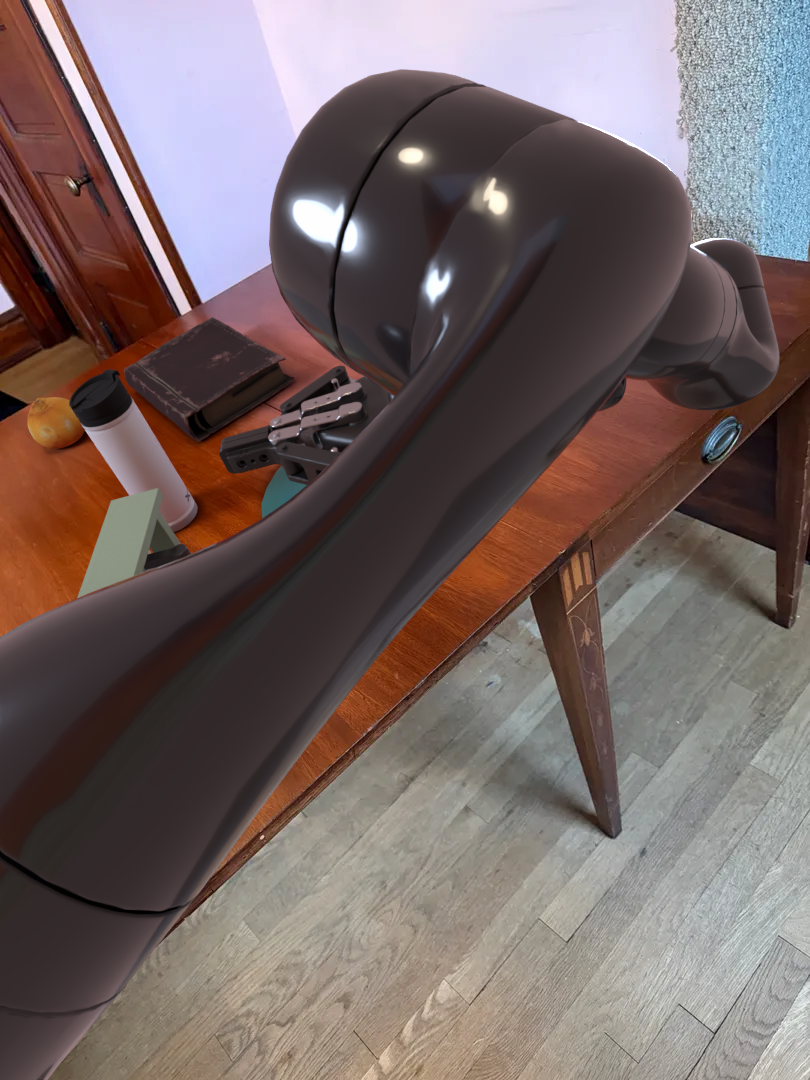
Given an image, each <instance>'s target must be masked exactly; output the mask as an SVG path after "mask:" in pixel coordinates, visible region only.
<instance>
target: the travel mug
mask: <svg viewBox="0 0 810 1080" xmlns="http://www.w3.org/2000/svg"><path fill="white" fill-rule="evenodd" d="M119 376H121V373H120V372H119V370H117V369H112V368H111V369H110V368H106V369H105V370H104V371H103V372H102V373H98V374H97V375H94V376H93V377H90V378H89V379H88V380H85V382H83V383H81V385H79V386H78V387H77V388H76V389H75V391H74V392H73V393H72V394H71V397H70V398H69V400H70V402H69V406H70V407H71V409H72V410H73V412H74V414H75V415H76V417H77V418H78V419H79V421H80V423H81V425H82V427H83V428H84V429H85V431H84V432H86V434H87V435H88V437H89V438H90V440H91V441H92V443H93V444H94V446H95V447H96V449H97V451H98V452H99V453H100V455H101V456H102V457H103V459H104V461H105V462H106V464H107V465H108V466H109V468H110V470H111V471H112V472H113V474H114V476H115V477H116V478H117V479H118V481H119V482H120V484H121V485H122V487H123V489H124V490H125V492H126V493H127V494H128V496H130V495H134V494H138V493H141V492H145V491H149V490H153V489H156V488H159V490H160V491H161V493H162V494H163V499H162V502H161V506H160V510H159V511H160V513H161V514H162V516H163V517H164V519H165V520H166V522H167V523H168V525H169V526H170V528H171V529H172V531H173V532H174V533H176V532H179V531H181V530H183V529H185V527H187V526H188V525H189V524H190V523H192V521H193V520H194V519H195V517H196V516H197V513H198V509H199V508H198V505H197V503H196V501H195V499H194V498H193V496H192V494H191V493H190V491H189V489H188V487H187V486H186V485H185V483H184V481H183V480H182V478H181V477H180V474H179V473H178V471H177V470H176V468H175V466H174V465H173V463H172V462H171V460H170V458H169V456H168V454H167V453H166V451H165V450H164V448H163V446H162V445H161V443H160V441H159V440H158V438H157V436H156V435H155V433H154V432H153V430H152V429H151V426H149V424H148V422H147V420H146V419H145V417H144V415H143V414H142V412H141V411H140V409H139V407H138V405H137V404H136V402H135V401H134V399H133V397H132V396H131V395H130V393H129V391H128V390H127V388H126V386H125V384H124V383H123V381H122V380H121V378H120V377H119Z"/></svg>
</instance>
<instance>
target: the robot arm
mask: <svg viewBox="0 0 810 1080" xmlns="http://www.w3.org/2000/svg"><path fill="white" fill-rule="evenodd" d="M692 214H693V213H692V205H691V201H690V198H689V196H688V194H687V192H686V189H685V188H684V185H683V184H682V181H681V179H680V178H679V177H678V175H677V174H676V173H675V172H674V171H673V170H672V169H671V168H670V167H669V165H667V164H665V163H664V162H662V161H661V160H659V159H658V158H656V157H655V156H654V155H651V154H650V153H649V152H647V151H646V150H645V149H642V148H641V147H639V146H637V145H635V144H633V143H632V142H630V141H628V140H626V139H624V138H622V137H619V136H617V135H615V134H612V133H610V132H608V131H605V130H603V129H601V128H598V127H596V126H593V125H591V124H588V123H585V122H580V121H579V120H576V119H574V118H573V117H570V116H569V115H565V114H563V113H559V112H557V111H554V110H551V109H549V108H546V107H544V106H541V105H538V104H536V103H533V102H530V101H528V100H525V99H522V98H520V97H517V96H514V95H512V94H509V93H507V92H504V91H501V90H498V89H495V88H492V87H490V86H487V85H484V84H482V83H478V82H476V81H473V80H471V79H467V78H465V77H461V76H458V75H455V74H451V73H446V72H442V71H441V72H439V71H433V70H419V69H418V70H417V69H404V68H403V69H400V68H399V69H395V70H390V71H383V72H379V73H375V74H370V75H368V76H366V77H365V76H364V78H361V79H359V80H357V81H355V82H353V83H351V84H349V85H346V86H344V87H343V88H342V89H341V90H340V91H338V92H337V93H336V94H335V95H333V96H332V97H331V98H330V99H328V100H327V101H326V102H325V103H323V104H322V105H321V106H320V107H319V108H318V110H317V111H316V112H315V113H314V114H313V116H312V117H311V118H310V119H309V120H308V122H307V123H305V125H304V127H303V128H302V129H301V130H300V132H299V133H298V136H297V138H295V141H294V142H293V144H292V147H290V150H289V152H288V153H287V155H286V157H285V160H284V163H283V165H282V169H281V171H280V173H279V176H278V179H277V182H276V184H275V188H274V192H273V197H272V202H271V207H270V215H269V235H268V237H269V238H268V248H269V254H270V262H271V268H272V273H273V277H274V279H275V282H276V284H277V287H278V291H279V292H280V296H281V298H282V299H283V301H284V303H285V304H286V306H287V307H288V309H289V311H290V313H291V314H292V316H293V317H294V319H295V320H296V322H297V323H298V324H299V325H300V327H302V328H303V329H304V331H306V332H307V333H308V334H309V336H310V337H312V338H313V339H314V340H315V341H316V342H317V343H318V344H319V346H321V347H322V348H323V349H324V350H325V351H327V352H328V353H329V355H331V356H332V357H333V358H335V359H337V360H338V361H339V362H341V363H342V364H344V365H337V366H334V367H333V368H331V369H329V370H328V371H327V372H325V373H324V374H322V375H321V376H320V377H318V378H316V379H315V380H314V381H312V382H311V383H309V384H308V385H307V386H305V387H304V388H302V389H301V390H299V391H298V392H297V393H295V394H294V395H292V396H291V397H289V398H288V399H286V400H284V401H283V402H282V403H281V404H280V405H279V410H280V412H281V414H280V415H277V416H275V417H273V418H272V419H271V420H270V421H269V425H264V426H261V427H258V428H254V429H250V430H247V431H243V432H240V433H236V434H233V435H230V436H225V437H223V438H222V439H221V441H220V448H219V452H218V454H219V458H220V460H221V461H222V464H223V465H224V467H225V469H226V471H227V472H228V473H229V474H232V475H236V474H244V473H247V472H249V471H250V472H251V471H254V470H258V469H262V468H263V469H264V468H266V467H270V466H274V465H280V467H281V466H282V467H283V468H284V470H285V472H286V475H287V477H288V479H289V480H290V481H293V482H297V483H301V484H305V485H307V486H305V487H304V488H303V489H302V490H301V491H299V492H298V493H297V494H296V495H294V496H293V497H292V498H291V499H290V500H288V501H287V502H286V503H284V504H283V505H281V506H280V507H278V508H277V509H275V510H274V511H272V512H271V513H269V514H268V515H267V516H265V517H264V518H262V517H261V518H260V519H259V520H258V521H256V522H254V523H252V524H250V525H248V526H247V527H245V528H243V529H241V530H239V531H237V532H236V533H234V534H232V535H230V536H228V537H226V538H224V539H222V540H220V541H217V542H215V543H212V544H210V545H209V546H206V547H204V548H201V549H199V550H196V551H194V552H192V553H191V554H190V555H188V556H186V557H183V558H180V559H178V560H175V561H172V562H170V563H167V564H164V565H162V566H159V567H156V568H154V569H151V570H148V571H146V572H143V573H140V574H138V575H135V576H132V577H130V578H127V579H124V580H122V581H119V582H117V583H114V584H111V585H109V586H106V587H104V588H101V589H99V590H96V591H94V592H91V593H88V594H86V595H84V596H81V597H79V598H74V599H73V600H70V601H68V602H65V603H63V604H61V605H59V606H56V607H54V608H52V609H50V610H47V611H45V612H43V613H41V614H39V615H37V616H36V617H33V618H32V619H29V620H27V621H25V622H23V623H22V624H19V625H18V626H16V627H14V628H13V629H12V630H10V631H8V632H6V633H5V634H4V633H3V635H1V636H0V1080H49V1079H50V1078H51V1076H52V1075H53V1074H54V1072H55V1071H56V1070H57V1068H58V1067H59V1066H60V1065H61V1063H62V1062H63V1061H64V1060H65V1059H66V1057H67V1056H68V1055H69V1054H70V1053H71V1051H72V1050H73V1049H74V1048H75V1047H76V1046H77V1044H79V1042H80V1041H82V1038H83V1037H84V1036H85V1035H86V1034H87V1032H88V1031H89V1030H90V1029H91V1028H92V1027H93V1026H94V1025H95V1023H96V1022H97V1021H98V1020H99V1019H100V1018H101V1016H102V1015H103V1014H104V1013H105V1012H106V1010H107V1009H108V1008H109V1007H110V1006H111V1004H112V1003H113V1002H114V1001H115V1000H116V999H117V998H118V997H119V995H120V994H121V993H122V991H124V990H125V989H126V986H127V985H128V984H129V982H130V981H131V980H132V979H133V977H134V976H135V975H137V973H138V971H139V970H140V969H141V968H142V966H143V965H144V963H145V962H146V961H147V960H148V958H149V957H150V956H151V955H152V954H153V952H154V951H155V950H156V948H157V947H158V946H159V945H160V943H161V942H162V941H163V939H164V938H165V937H166V935H168V933H169V932H170V931H171V929H172V928H173V926H174V925H175V924H176V923H177V922H178V920H179V919H180V917H182V915H183V914H184V912H185V911H186V910H187V909H188V907H189V906H190V905H191V904H192V902H193V901H194V900H195V899H196V897H197V896H198V895H199V894H200V893H201V891H202V890H203V888H205V886H206V884H207V883H208V882H209V881H210V879H211V878H212V877H213V875H214V874H215V872H216V871H217V869H218V868H219V867H220V866H221V864H222V862H223V861H224V860H225V858H226V857H227V856H228V854H229V853H230V852H231V850H232V849H233V848H234V847H235V845H236V844H237V842H238V840H240V838H241V836H242V835H243V834H244V833H245V831H246V830H247V828H248V827H249V826H250V824H251V823H252V822H253V820H254V819H255V817H256V816H257V815H258V814H259V812H260V810H261V809H262V808H263V806H264V805H265V804H266V802H267V801H268V800H269V799H270V797H271V796H272V794H273V793H274V792H275V791H276V789H277V788H278V786H279V785H280V784H281V782H282V781H283V780H284V779H285V777H286V776H287V775H288V773H289V772H290V770H291V769H292V768H293V767H294V765H295V764H296V762H297V761H298V760H299V759H300V757H302V755H303V753H304V752H305V750H306V749H307V748H308V747H309V745H310V744H311V743H312V741H313V740H314V739H315V737H316V736H317V735H318V733H319V732H320V731H321V730H322V729H323V727H324V726H325V725H326V723H327V722H328V721H329V720H330V718H332V716H333V714H334V713H335V712H336V711H337V709H339V707H340V706H341V704H342V703H343V702H344V701H345V699H346V698H347V697H348V695H349V694H350V693H351V692H352V691H353V689H354V688H355V687H356V686H357V684H358V683H359V682H360V680H361V679H362V678H363V677H364V676H365V674H366V673H367V671H369V670H370V668H371V667H372V665H373V664H374V663H375V662H376V660H377V659H378V658H379V657H380V655H381V654H382V653H383V652H384V651H385V650H386V649H387V647H388V646H390V644H391V643H392V642H393V640H394V639H395V638H396V637H397V636H398V635H399V633H400V632H401V631H402V630H403V629H404V628H405V626H406V625H407V624H408V623H409V621H410V620H411V619H412V618H413V617H414V616H415V615H416V614H417V613H418V612H419V610H420V609H421V608H422V607H423V606H424V605H425V604H426V603H427V602H428V601H429V600H430V599H431V597H433V595H434V594H435V593H436V592H437V590H439V588H440V587H441V586H442V585H443V584H444V583H445V582H446V581H447V580H448V579H449V577H450V576H451V575H452V574H453V573H454V572H455V571H456V570H457V568H458V567H459V566H460V565H461V564H462V563H463V562H464V561H465V560H466V559H467V558H468V556H469V555H470V554H471V553H472V552H473V551H474V550H475V549H476V548H477V547H478V545H479V544H480V543H481V542H482V541H484V539H485V538H486V537H487V536H488V535H489V533H490V532H491V531H492V530H493V529H494V528H496V526H497V524H499V522H501V520H502V519H504V517H505V516H506V515H507V514H508V513H509V512H510V511H511V510H512V508H513V507H514V506H515V505H516V504H517V503H518V502H519V501H520V500H521V499H522V497H523V496H524V495H525V494H526V493H527V492H528V491H529V489H530V488H532V486H533V485H534V484H535V483H536V482H537V481H538V480H539V479H540V477H541V476H542V475H543V474H544V473H545V472H546V471H547V470H548V469H549V468H550V467H551V465H552V464H553V463H554V462H555V461H556V460H557V459H558V458H559V457H560V455H562V454H563V452H564V451H565V450H566V449H567V448H568V446H569V445H570V444H571V443H572V442H573V441H574V439H575V438H577V436H578V435H579V434H580V433H581V432H582V431H583V429H584V428H585V427H586V426H587V425H588V423H590V421H591V420H592V419H593V418H594V417H595V416H596V414H597V413H600V412H603V411H606V410H609V409H611V408H613V407H615V406H616V405H617V404H619V403H620V402H621V401H622V399H623V398H624V396H625V393H626V389H627V379H629V380H635V381H644V382H647V383H648V384H649V386H651V387H652V389H654V390H655V392H657V393H658V394H659V395H660V396H661V397H662V398H664V399H665V400H666V401H668V402H670V403H671V404H673V405H676V406H678V407H681V408H685V409H689V410H695V411H718V410H724V409H725V410H726V409H729V408H733V407H737V406H739V405H742V404H745V403H746V402H749V401H751V400H753V399H754V398H756V397H758V396H759V395H760V394H762V393H763V392H764V391H765V390H766V389H767V388H768V387H769V386H770V385H771V383H772V382H773V381H774V379H775V378H776V376H777V374H778V371H779V367H780V358H781V356H780V348H779V343H778V339H777V334H776V330H775V327H774V322H773V318H772V314H771V309H770V305H769V300H768V296H767V292H766V289H765V283H764V279H763V275H762V270H761V266H760V262H759V260H758V258H757V255H756V253H755V252H754V250H753V249H752V248H751V247H749V246H748V244H745V243H743V242H741V241H740V240H739V241H738V240H735V239H731V238H725V237H723V238H722V237H721V238H719V237H718V238H717V237H715V238H714V237H713V238H708V239H704V240H700V241H697V242H695V243H692V241H693V215H692ZM346 367H348V368H350V369H351V370H353V371H354V372H356V373H357V374H359V375H360V376H362V377H360V378H358V379H355V378H352V377H350V376H349V374H348V371H347V368H346Z"/></svg>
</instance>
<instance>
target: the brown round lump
mask: <svg viewBox="0 0 810 1080" xmlns="http://www.w3.org/2000/svg"><path fill="white" fill-rule="evenodd" d="M69 402H70V399H67V398H64V397H57V396H52V397H37V398H36V399H35V401H33V403H32V404H31V405H30V409H29V411H28V414H27V417H26V419H27V420H26V421H27V423H26V424H27V430H28V431H29V433H30V435H31V437H32V438H33V440H34V441H35V442H36V443H37V444H38V445H41V446H42V447H44V448H46V449H51V450H52V449H53V450H59V449H63V448H67V447H69V446H71V445H74V444H75V443H77V442H78V441H79V440H80V439H81V438H82V437H83V435H84V433H85V432H86V431H85V429H84V428H83V427H82V425H81V423H80V421H79V419H78V418H77V417H76V415H75V414H74V412H73V410H72V409H71V407H70V406H69Z"/></svg>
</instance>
